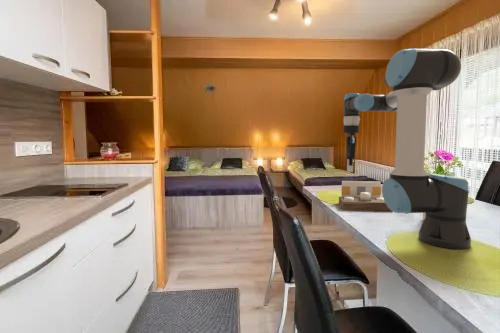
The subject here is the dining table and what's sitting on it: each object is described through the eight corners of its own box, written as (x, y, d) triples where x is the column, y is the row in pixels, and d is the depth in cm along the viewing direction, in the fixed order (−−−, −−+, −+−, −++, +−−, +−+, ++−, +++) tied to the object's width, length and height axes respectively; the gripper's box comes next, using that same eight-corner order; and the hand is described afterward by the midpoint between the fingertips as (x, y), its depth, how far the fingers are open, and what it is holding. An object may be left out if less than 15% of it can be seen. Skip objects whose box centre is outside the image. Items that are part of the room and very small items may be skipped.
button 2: (371, 202, 145) (371, 194, 145) (361, 202, 146) (361, 193, 146) (368, 200, 150) (369, 192, 150) (359, 200, 151) (359, 191, 150)
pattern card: (380, 203, 156) (381, 181, 154) (341, 202, 158) (341, 181, 157) (379, 203, 157) (380, 181, 156) (340, 202, 160) (341, 180, 158)
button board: (393, 211, 141) (394, 203, 140) (342, 209, 144) (343, 201, 144) (385, 205, 153) (385, 197, 152) (338, 203, 156) (338, 196, 155)
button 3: (354, 207, 147) (354, 198, 146) (344, 206, 147) (345, 198, 147) (352, 204, 151) (352, 196, 151) (343, 204, 152) (343, 196, 152)
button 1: (387, 208, 145) (388, 199, 144) (377, 207, 145) (378, 199, 145) (384, 205, 149) (385, 197, 149) (374, 205, 150) (375, 197, 149)
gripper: (362, 124, 138) (360, 173, 140) (356, 125, 151) (354, 170, 153) (346, 124, 139) (344, 173, 141) (341, 125, 152) (340, 170, 154)
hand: (350, 171), depth 147 cm, fingers closed
